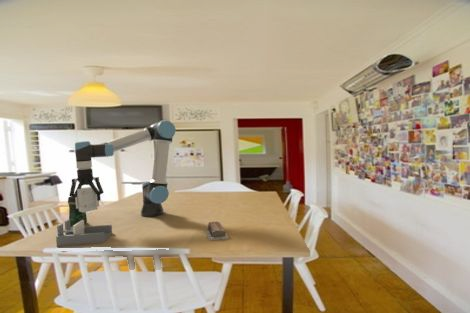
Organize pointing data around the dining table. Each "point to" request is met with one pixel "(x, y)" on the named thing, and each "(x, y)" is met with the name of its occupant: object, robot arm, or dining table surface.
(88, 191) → the small box
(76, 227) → the grey open holder
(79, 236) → the grey slotted tray
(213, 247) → the dining table surface
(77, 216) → the coffee jar
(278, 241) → the dining table surface
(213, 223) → the packaged product
